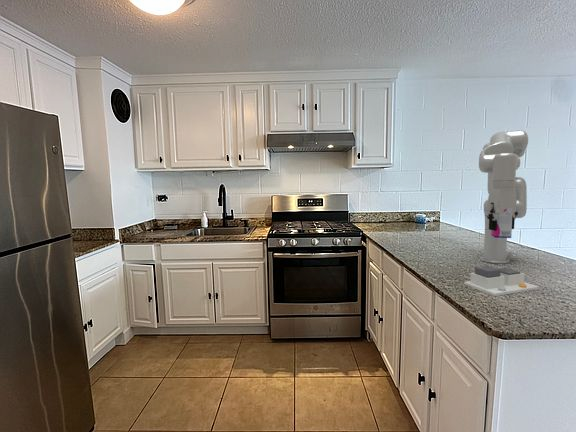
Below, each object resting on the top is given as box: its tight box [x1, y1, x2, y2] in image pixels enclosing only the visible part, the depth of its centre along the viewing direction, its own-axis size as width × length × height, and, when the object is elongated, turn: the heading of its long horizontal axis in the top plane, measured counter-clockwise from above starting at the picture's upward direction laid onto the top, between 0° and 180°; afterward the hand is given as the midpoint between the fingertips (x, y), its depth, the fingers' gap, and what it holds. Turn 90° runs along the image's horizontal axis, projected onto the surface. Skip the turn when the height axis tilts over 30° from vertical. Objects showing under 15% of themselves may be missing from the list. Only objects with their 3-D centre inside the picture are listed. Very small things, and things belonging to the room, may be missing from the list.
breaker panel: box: [464, 271, 540, 297], centre depth 125 cm, size 21×14×5 cm, turn 105°
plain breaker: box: [474, 265, 501, 278], centre depth 125 cm, size 6×6×4 cm
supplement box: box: [491, 209, 513, 239], centre depth 127 cm, size 6×6×12 cm
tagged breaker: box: [499, 267, 521, 275], centre depth 128 cm, size 6×6×4 cm
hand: (501, 229), depth 128 cm, fingers closed on supplement box, 7 cm apart
